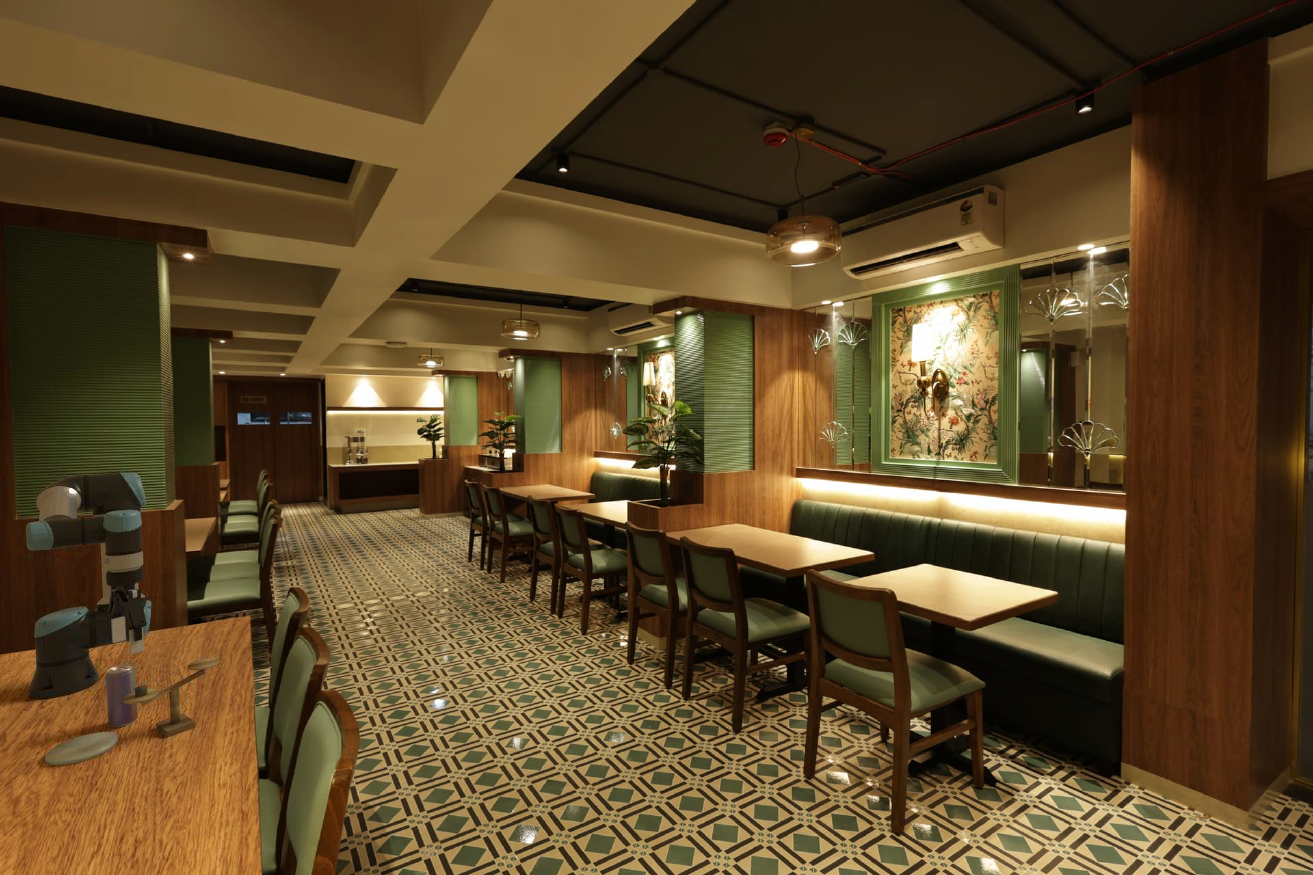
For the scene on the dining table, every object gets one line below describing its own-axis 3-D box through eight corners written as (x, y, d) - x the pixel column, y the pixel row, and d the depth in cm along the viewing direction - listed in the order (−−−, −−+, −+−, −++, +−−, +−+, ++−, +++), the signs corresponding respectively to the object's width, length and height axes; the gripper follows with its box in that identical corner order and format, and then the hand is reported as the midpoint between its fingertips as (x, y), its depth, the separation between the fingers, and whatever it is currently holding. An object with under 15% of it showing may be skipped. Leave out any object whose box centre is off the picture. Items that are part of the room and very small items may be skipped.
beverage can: (120, 729, 160) (117, 673, 159) (102, 727, 161) (99, 672, 160) (143, 718, 165) (141, 664, 165) (125, 716, 167) (123, 662, 166)
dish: (39, 754, 148) (38, 749, 148) (108, 731, 159) (108, 726, 159) (52, 771, 141) (52, 766, 141) (125, 746, 151) (124, 741, 151)
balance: (120, 740, 154) (117, 682, 154) (214, 707, 171) (212, 655, 170) (130, 750, 150) (128, 690, 149) (226, 715, 167) (224, 661, 166)
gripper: (90, 565, 166) (94, 641, 167) (123, 579, 152) (126, 661, 153) (126, 559, 172) (129, 632, 173) (160, 572, 158) (163, 652, 159)
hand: (127, 646), depth 163 cm, fingers open, 13 cm apart
